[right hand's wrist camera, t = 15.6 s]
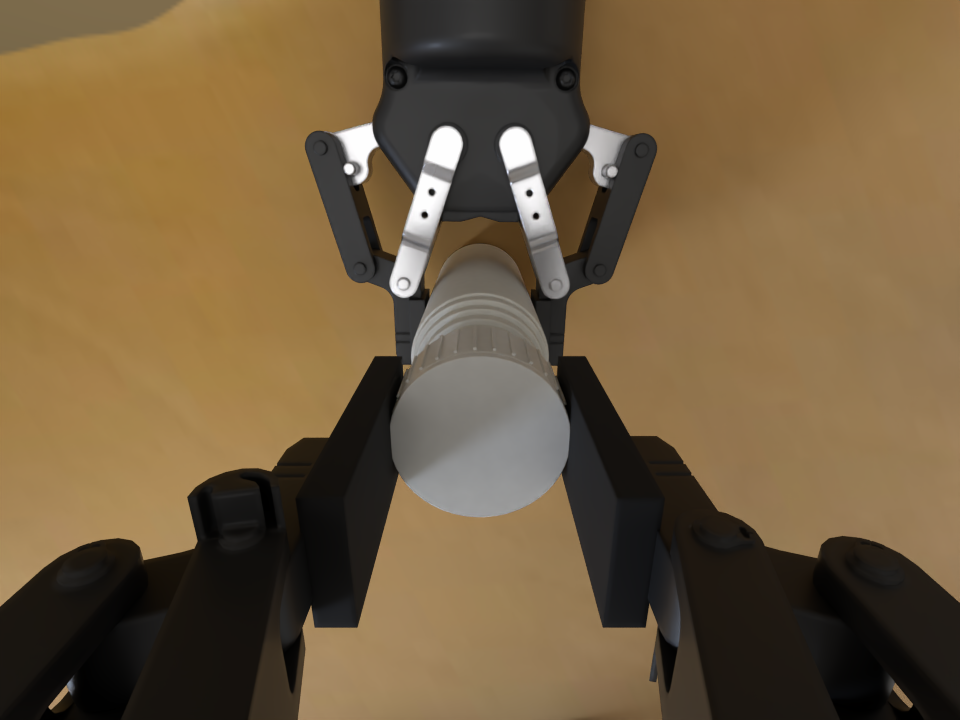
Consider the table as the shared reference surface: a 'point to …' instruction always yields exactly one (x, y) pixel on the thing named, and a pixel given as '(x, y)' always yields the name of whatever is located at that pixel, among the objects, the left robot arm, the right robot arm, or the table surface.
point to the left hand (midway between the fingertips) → (478, 369)
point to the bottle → (480, 299)
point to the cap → (480, 424)
